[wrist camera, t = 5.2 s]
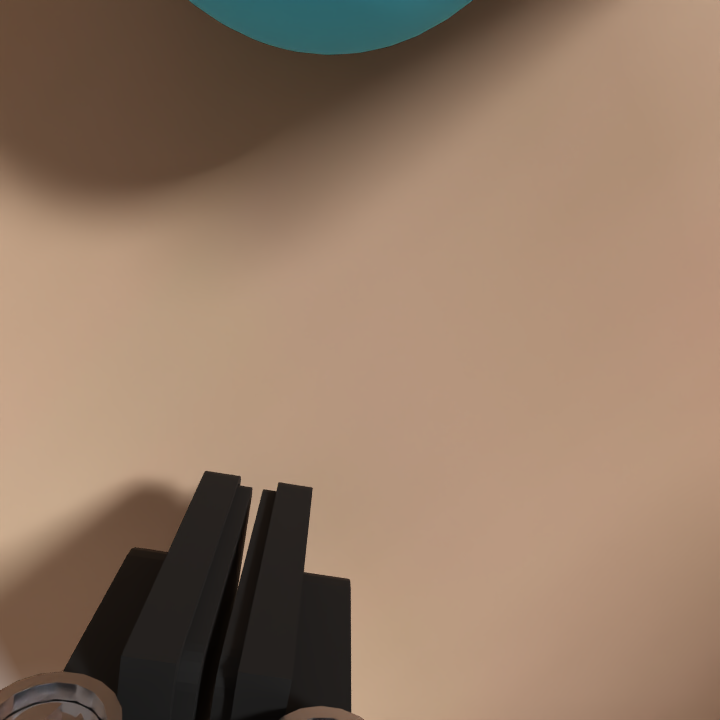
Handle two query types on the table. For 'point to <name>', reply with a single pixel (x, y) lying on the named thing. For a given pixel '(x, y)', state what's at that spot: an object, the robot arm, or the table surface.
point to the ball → (331, 21)
